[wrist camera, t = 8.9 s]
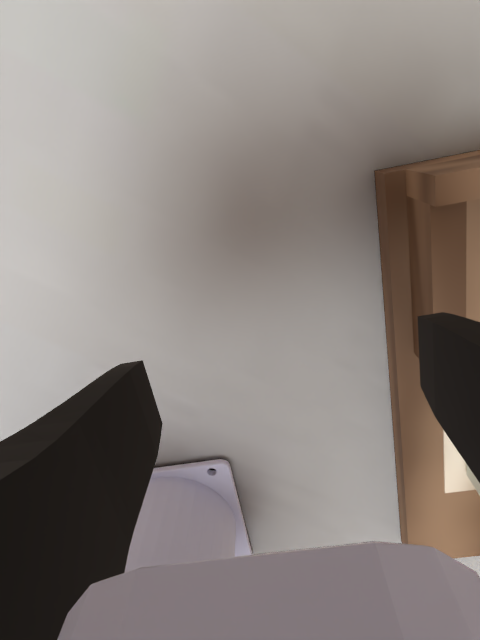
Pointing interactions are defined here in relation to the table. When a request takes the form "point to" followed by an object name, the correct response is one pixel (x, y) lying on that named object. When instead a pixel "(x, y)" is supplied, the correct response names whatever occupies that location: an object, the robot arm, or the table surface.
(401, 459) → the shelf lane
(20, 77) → the table surface
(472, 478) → the block
